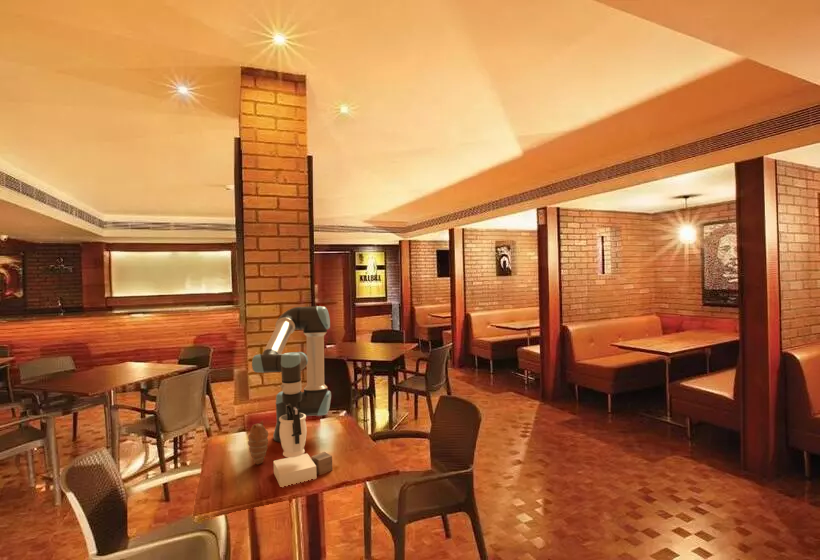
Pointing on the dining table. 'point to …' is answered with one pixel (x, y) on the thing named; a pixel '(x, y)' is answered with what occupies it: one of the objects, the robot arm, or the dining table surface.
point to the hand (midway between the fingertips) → (293, 446)
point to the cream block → (294, 470)
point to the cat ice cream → (258, 442)
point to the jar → (287, 437)
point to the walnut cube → (322, 462)
